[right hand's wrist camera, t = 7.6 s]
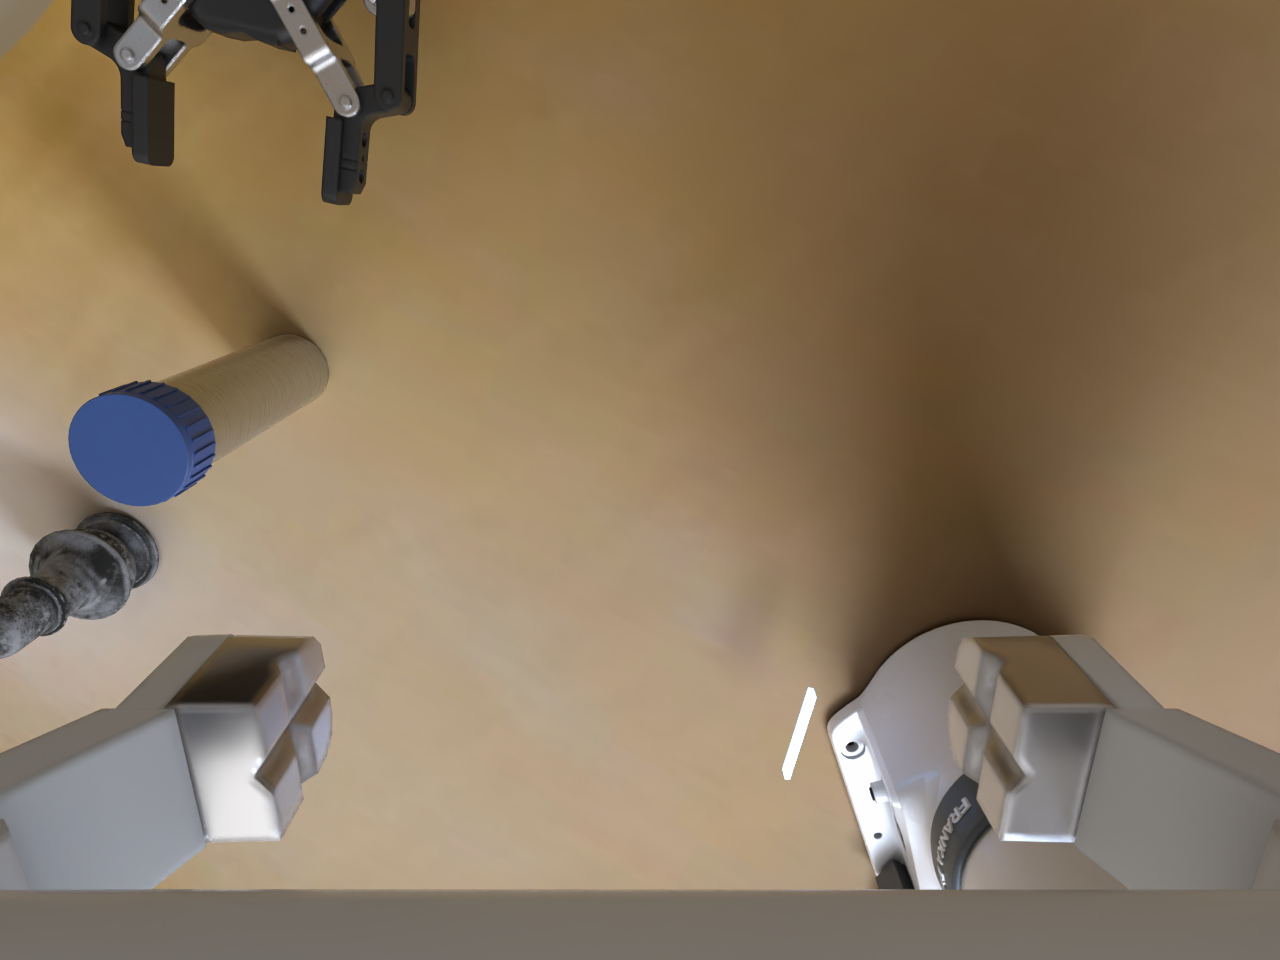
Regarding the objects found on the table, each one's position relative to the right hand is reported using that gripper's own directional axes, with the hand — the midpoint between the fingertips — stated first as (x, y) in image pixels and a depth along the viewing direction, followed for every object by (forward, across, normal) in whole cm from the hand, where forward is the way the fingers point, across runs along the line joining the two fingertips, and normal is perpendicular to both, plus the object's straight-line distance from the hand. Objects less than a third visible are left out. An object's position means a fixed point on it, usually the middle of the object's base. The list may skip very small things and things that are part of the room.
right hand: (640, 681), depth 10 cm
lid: (+22, -20, -4) cm, 31 cm away
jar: (+38, -20, -4) cm, 43 cm away
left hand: (+32, -18, +6) cm, 37 cm away
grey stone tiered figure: (+38, -33, -16) cm, 53 cm away
